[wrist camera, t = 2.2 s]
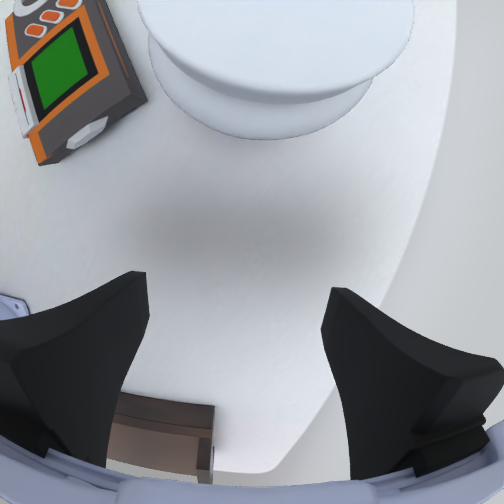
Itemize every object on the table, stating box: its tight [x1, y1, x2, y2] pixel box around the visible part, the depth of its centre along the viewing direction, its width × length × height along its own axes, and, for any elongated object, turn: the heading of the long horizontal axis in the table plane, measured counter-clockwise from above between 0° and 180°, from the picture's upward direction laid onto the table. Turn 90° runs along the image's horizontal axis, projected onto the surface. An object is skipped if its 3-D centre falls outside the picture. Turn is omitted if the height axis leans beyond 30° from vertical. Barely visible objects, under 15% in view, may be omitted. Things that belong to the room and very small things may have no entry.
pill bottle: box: [137, 0, 414, 140], centre depth 8 cm, size 6×6×11 cm
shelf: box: [107, 392, 215, 485], centre depth 20 cm, size 14×9×6 cm, turn 84°
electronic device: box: [5, 0, 147, 166], centre depth 10 cm, size 7×3×15 cm
